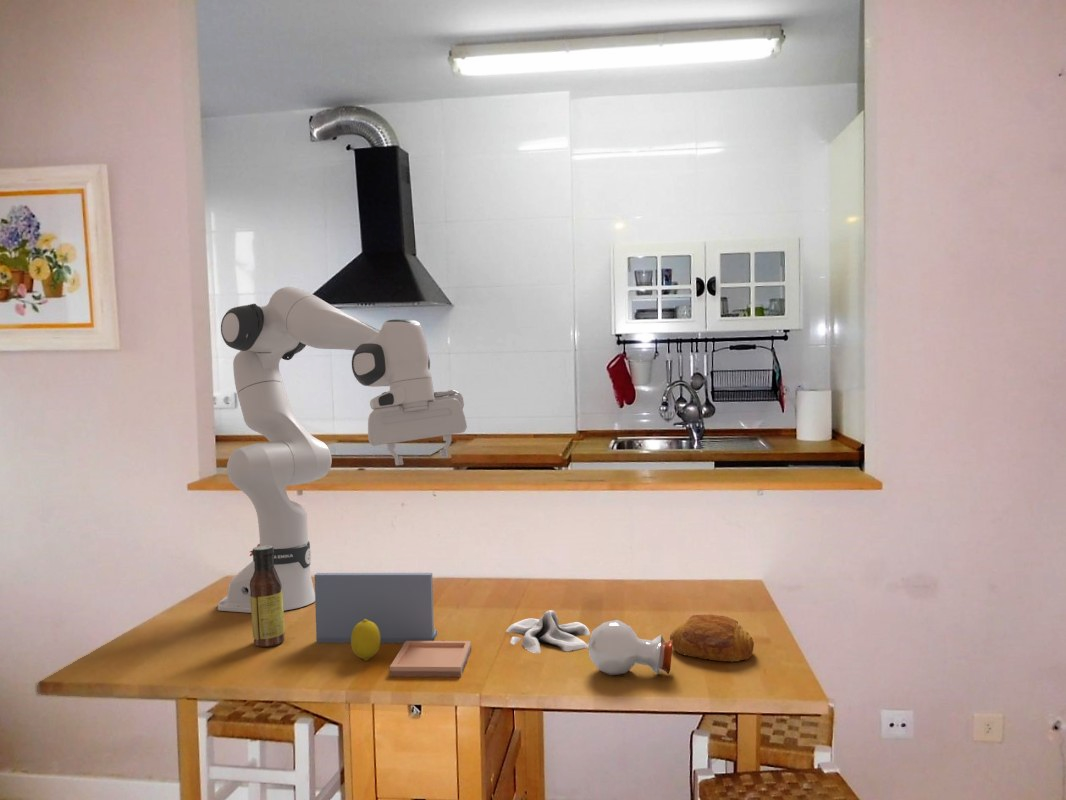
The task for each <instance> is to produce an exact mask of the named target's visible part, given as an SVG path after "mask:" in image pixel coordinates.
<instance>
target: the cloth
mask: <svg viewBox="0 0 1066 800" xmlns="http://www.w3.org/2000/svg"><path fill="white" fill-rule="evenodd" d="M505 633H515V634H520V635H524V636H523V637H522V638H523V639H522V638H521V637H519V636H512V637H511V639H510V644H511V645H516V644H518V643H519V642H520V641H521V640H522V642H521V646H522V645H523V646H524V647H523V646H522V647H523V648H524V650H526V649H527V650H528V651H527V650H526V651H527V652H529V651H530V652H529V653H531V652H532V653H531V654H533V653H535V654H541V652H542V650H541V649H542V648H541V644H548V643H549V644H548V645H553V646H556V647H558V648H560V650H562V651H564V652H573V651H576V650H577V651H578V650H583V649H586V648H587V649H588V643H586V642H585V641H584V640H583V639H581V638H579V637H578V636H575V635H582V636H586V637H588V636H591V632H590V630H589V628H588V627H587V626H586V625H585V624H583V623H581V622H579V621H574V622H569V623H564V624H559V617H558V616H557V613H556V611H555V610H552V609H551V610H550V609H549V610H547V611H545V612H544V614H543V615H542V616H541V617H540V619H539V618H532V617H531V618H525V619H522V620H519V621H516V622H515V623H512V624H511V625H509V627H508V628H507V629H506V631H505ZM517 642H518V643H517ZM572 650H573V651H572Z"/></svg>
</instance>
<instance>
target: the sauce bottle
mask: <svg viewBox="0 0 1066 800" xmlns="http://www.w3.org/2000/svg"><path fill="white" fill-rule="evenodd" d="M252 550H253V555H252V557H253V556H254V563H255V567H254V568H255V571H254V574H253V577H252V578H251V581H250V594H251V595H250V600H251V625H252V628H251V629H252V639H253V643H254V646H257V647H260V648H268V647H274V646H275V647H276V646H278V645H280V644H282V643H283V642H284V641H285V638H286V637H285V634H286V627H285V613H284V612H285V611H284V608H283V596H282V585H281V582H280V580H279V577H278V575H277V572H276V569H275V567H274V562H273V553H274V549H273V546H270V545H265V546H258V547H257V546H255V547H253V548H252Z"/></svg>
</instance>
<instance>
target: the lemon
mask: <svg viewBox="0 0 1066 800" xmlns="http://www.w3.org/2000/svg"><path fill="white" fill-rule="evenodd" d="M350 646H351V649H352V651H353V653H354V654H355V655H356V656H357V657H359V658H361V659H362V660H364V661H368V660H370V658H372V657H373V656H375V655H376V654H377V653H378V651H379V649H380V646H381V643H380V632H379V629H378V627H377V625H376V624H375V623H373V622H371V621H368V620H367V619H364V620H363V621H361V622H359V623H358V624H357V625H356V626H355V627H354V629H353V631H352V635H351V643H350Z"/></svg>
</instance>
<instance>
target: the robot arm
mask: <svg viewBox="0 0 1066 800" xmlns="http://www.w3.org/2000/svg"><path fill="white" fill-rule="evenodd" d="M220 334H221V337H222V339H223V341H224V343H225V344H226V346H228V347H230V349H234V350H237V351H238V352H237V353H236V355H235V356H234V357H233V362H232V363H233V365H232V366H233V378H234V385H235V390H236V394H237V398H238V401H239V405H240V409H241V413H242V416H243V421H244V423H245V425H246V426H247V427H248V428H249V429H250V430H252V431H254V432H255V433H258V434H261V435H262V436H263V437H264V438H266V439H267V440H268V442H259V443H257V442H256V443H252V444H249V445H245V446H242V447H238V448H236V449H234V450H233V451H232V452H231V454H230V455H229V457H228V461H227V462H226V472H227V473H226V474H227V476H228V480H229V481H230V482H231V483H232V485H233V486H234V487H235V488H236V489H238V490H239V491H241V492H242V493H243V494H245V495H246V496H247V498H248V499H250V501H251V503H252V505H253V507H254V509H255V513H256V517H257V522H258V534H259V535H258V536H259V543H258V544H257V545H256V547H258V546H265V545H270V546H273V549H274V553H273V562H274V567H275V569H276V572H277V575H278V577H279V580H280V582H281V585H282V596H283V608H284V612H285V611H289V610H294V609H295V610H296V609H298V608H302V607H305V606H309V605H311V604H312V603H314V602H315V586H314V584H313V581H312V580H313V579H312V573H311V567H310V565H311V559H312V555H311V554H312V551H311V545H310V544H311V543H310V541H309V536H308V535H309V533H308V532H309V530H308V514H307V511H306V509H305V508H304V507H303V505H301V504H299V503H298V502H295V501H294V500H291V499H290V498H289V496H288V494H287V487H291V486H297V485H303V484H310V483H313V482H315V481H318V480H320V479H322V478H325V477H326V476H327V475H328V474H329V472H330V470H331V467H332V461H333V460H332V453H331V450H330V448H329V447H328V445H327V444H326V443H325V442H324V441H322V440H320V439H318V438H316V437H314V435H312V434H311V433H310V432H309V431H308V430H306V428H304V426H303V424H301V422H300V421H299V420H298V418H297V417H296V415H295V414H294V411H293V408H292V405H291V403H290V400H289V396H288V394H287V391H286V387H285V384H284V381H283V378H282V374H281V371H280V361H281V360H282V359H283V360H285V361H290V360H291V359H292V358H293V357H294V356H295V355H297V354H298V353H300V352H301V351H303V350H304V349H305V347H306V346H308V347H311V348H314V349H320V350H322V349H323V350H347V351H349V350H350V351H354V352H353V354H352V357H351V370H352V373H353V375H354V377H355V379H356V381H358V383H359V384H361V385H362V386H365V387H376V388H377V387H389V390H388V391H384V392H382V393H381V394H380V395H376V396H375V397H373V398H371V399H370V401H369V406H370V408H371V412H370V413H369V416H368V418H367V434H368V435H367V437H368V442H369V444H370V445H372V446H373V447H375V446H376V447H377V446H383V445H386V447H387V451H389V453H390V454H391V456H392V457H393V458H394V464H395V466H403V465H404V460H403V458H404V457H403V455H400V456H399V455H398V453H397V452H396V451H395V450H394V449H396V444H397V443H403V442H409V441H416V440H422V439H430V438H436V437H442V439H443V442H445V444H444V446H443V449H439V454H440V455H439V457H440V459H446V458H450V457H449V455H450V454H449V448H450V445H451V442H452V435H456V434H463V433H465V431H466V430H467V429H468V428H467V427H468V426H467V420H466V416H465V412H464V410H463V408H464V405H465V403H464V397H463V395H462V394H461V393H460V392H458V391H456V390H454V389H453V390H452V389H451V390H448V391H447V390H446V391H435V389H434V385H433V383H434V382H433V377H432V374H431V373H430V372H431V371H430V370H431V369H430V368H431V360H430V355H429V350H428V345H427V340H426V339H427V338H426V335H425V332H424V330H423V327H422V325H421V323H420V322H419V321H417V320H415V319H388V320H386V321H385V322H383V323H382V326H381V328H380V329H377V328H376V327H374V326H372V325H370V324H367V323H365V322H363V321H361V320H359V319H358V318H355V317H354V316H351V315H350V314H348V313H346V312H343V311H342V310H341V309H339V308H336V307H335V306H333V304H330V303H328V302H326V301H325V300H323V299H322V298H320V297H319V296H317V295H314V294H312V293H310V292H308V291H306V290H304V289H300V288H297V287H293V286H284V287H280V288H279V289H277V290H276V291H275V292H273V294H272V295H271V297H270V299H269V302H268V304H266V305H264V306H261V305H259V306H258V305H257V304H256V303H250V304H246V305H240V306H235V307H234V306H233V308H230V309H228V310H227V312H226V313H225V314H224V316H223V317H222V319H221V323H220ZM434 391H435V392H434ZM249 553H250V554H249V557H252V561H251V562H250V563H249V564H248V565H246V566H245V567H244V568H243V569H241V571H239V572H238V573H237V574H236V575H234V576H233V577H232V579H231V580H230V582H229V585H228V589H227V595H226V596H225V597H223V598H222V599H221V600H219V602H218V604H217V610H218V611H223V612H234V613H236V612H237V613H249V614H250V613H251V600H250V595H251V594H250V581H251V578H252V577H253V574H254V571H255V568H254V567H255V563H254V556H253V549H252V550H250V551H249Z"/></svg>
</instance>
